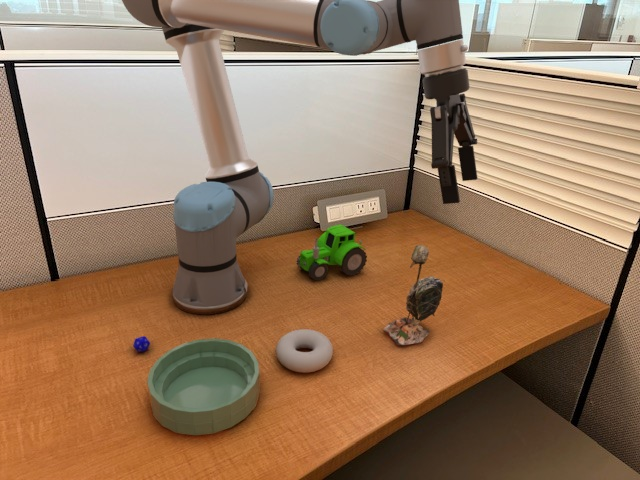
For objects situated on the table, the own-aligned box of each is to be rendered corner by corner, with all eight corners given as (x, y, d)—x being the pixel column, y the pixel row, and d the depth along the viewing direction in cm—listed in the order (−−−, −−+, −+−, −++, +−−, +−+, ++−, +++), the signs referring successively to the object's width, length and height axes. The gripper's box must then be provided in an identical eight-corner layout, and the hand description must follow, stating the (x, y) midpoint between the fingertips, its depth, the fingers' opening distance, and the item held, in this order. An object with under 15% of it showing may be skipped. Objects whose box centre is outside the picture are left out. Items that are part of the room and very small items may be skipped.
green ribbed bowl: (142, 379, 78) (139, 354, 76) (239, 352, 85) (238, 329, 83) (163, 454, 65) (159, 427, 63) (275, 415, 72) (275, 389, 70)
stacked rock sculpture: (448, 340, 91) (465, 245, 82) (394, 350, 87) (406, 252, 79) (426, 316, 98) (440, 226, 89) (375, 325, 94) (385, 232, 86)
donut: (312, 385, 78) (343, 352, 86) (313, 369, 77) (343, 337, 84) (264, 362, 83) (297, 333, 91) (263, 347, 81) (297, 318, 89)
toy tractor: (288, 267, 115) (289, 229, 110) (343, 252, 123) (346, 216, 119) (313, 287, 106) (315, 247, 102) (370, 270, 115) (374, 232, 110)
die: (143, 357, 83) (131, 346, 82) (140, 354, 85) (127, 343, 84) (155, 345, 84) (143, 334, 83) (151, 342, 86) (139, 331, 85)
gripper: (445, 75, 69) (465, 212, 76) (482, 59, 89) (495, 169, 96) (397, 86, 73) (420, 215, 80) (442, 68, 93) (458, 173, 100)
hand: (461, 190), depth 88 cm, fingers open, 13 cm apart
